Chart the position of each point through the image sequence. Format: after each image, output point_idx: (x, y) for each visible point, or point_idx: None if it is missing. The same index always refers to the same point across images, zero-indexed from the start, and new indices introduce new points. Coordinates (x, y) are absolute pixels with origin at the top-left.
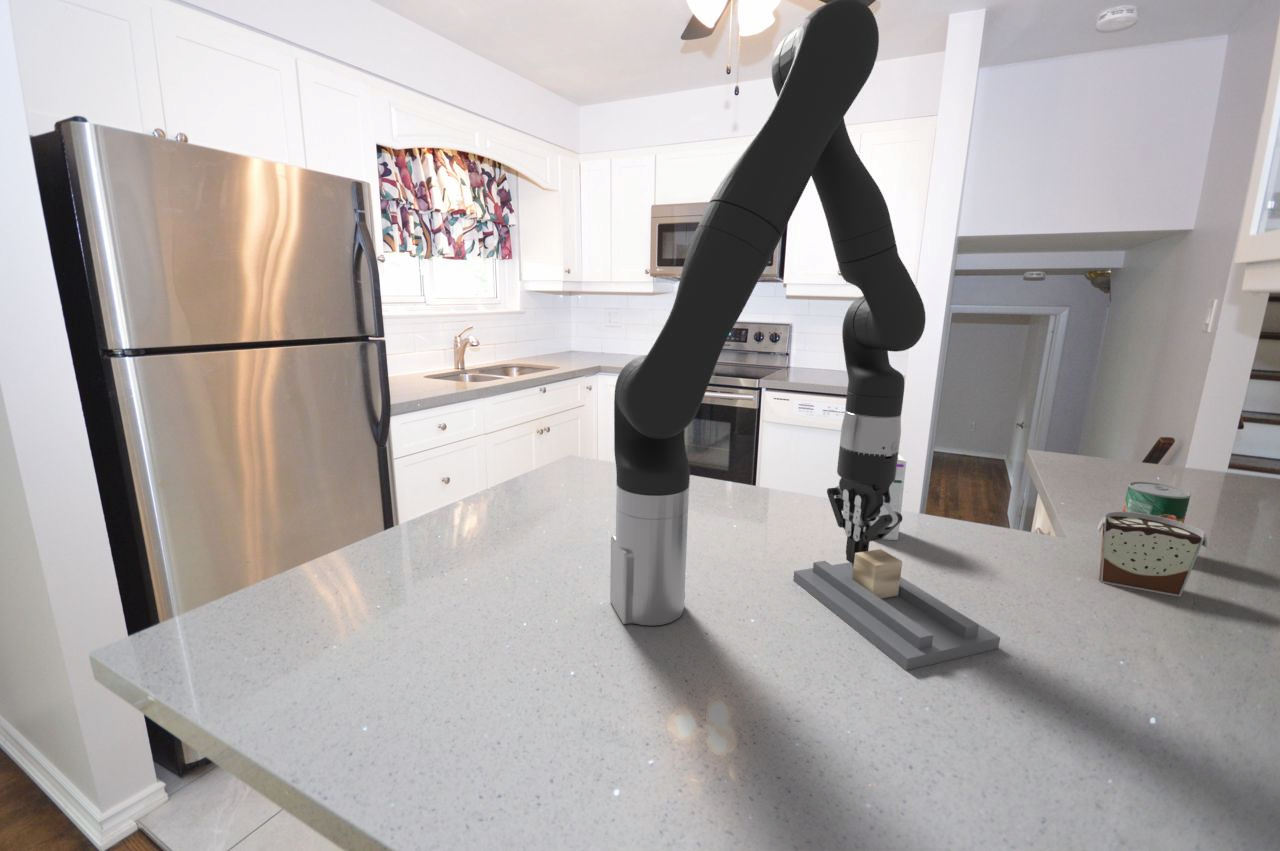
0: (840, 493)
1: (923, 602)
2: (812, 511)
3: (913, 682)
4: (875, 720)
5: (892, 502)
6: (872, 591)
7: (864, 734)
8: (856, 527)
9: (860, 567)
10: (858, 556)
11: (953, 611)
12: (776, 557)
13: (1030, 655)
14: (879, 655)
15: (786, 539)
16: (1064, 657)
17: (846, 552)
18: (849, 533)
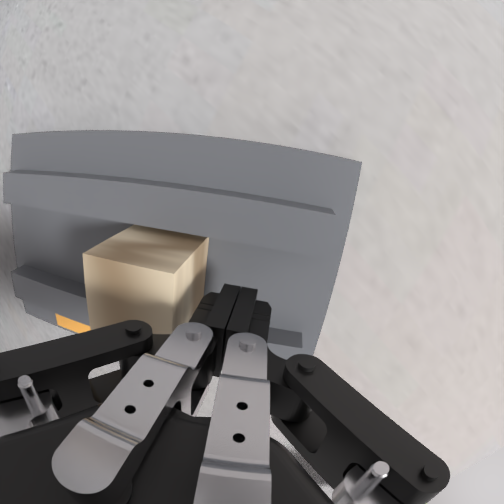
0: (361, 501)
1: (75, 292)
2: (493, 424)
3: (14, 125)
4: (8, 38)
5: None
6: (126, 229)
7: (8, 19)
8: (183, 360)
9: (157, 253)
10: (156, 267)
11: (43, 303)
12: (462, 224)
13: (27, 321)
14: (56, 119)
15: (492, 316)
16: (25, 345)
17: (267, 307)
18: (238, 341)
